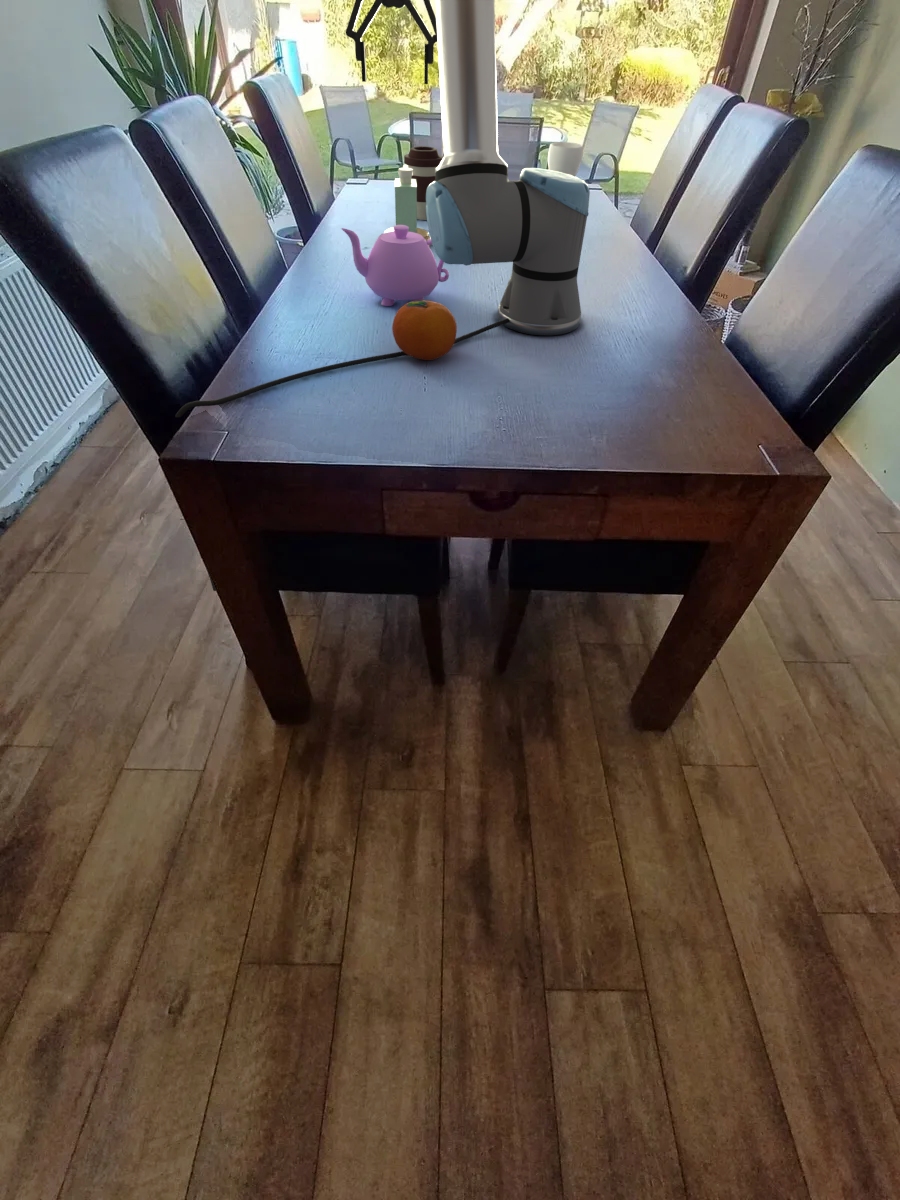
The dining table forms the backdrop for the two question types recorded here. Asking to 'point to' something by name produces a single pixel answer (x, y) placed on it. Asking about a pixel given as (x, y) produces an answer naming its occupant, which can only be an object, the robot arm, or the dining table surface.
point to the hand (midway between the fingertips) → (395, 82)
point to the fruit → (424, 329)
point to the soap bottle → (406, 202)
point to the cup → (565, 157)
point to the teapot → (399, 265)
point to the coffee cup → (423, 173)
